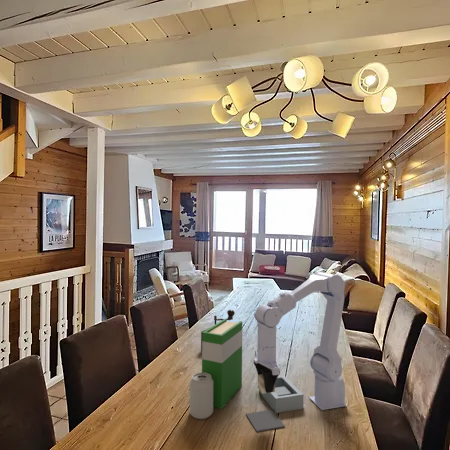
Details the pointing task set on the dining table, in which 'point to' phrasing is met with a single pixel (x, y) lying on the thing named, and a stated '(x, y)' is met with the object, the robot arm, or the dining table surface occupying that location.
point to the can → (201, 395)
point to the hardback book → (223, 359)
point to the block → (262, 384)
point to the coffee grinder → (230, 317)
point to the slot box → (284, 396)
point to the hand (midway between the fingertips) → (266, 388)
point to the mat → (265, 420)
